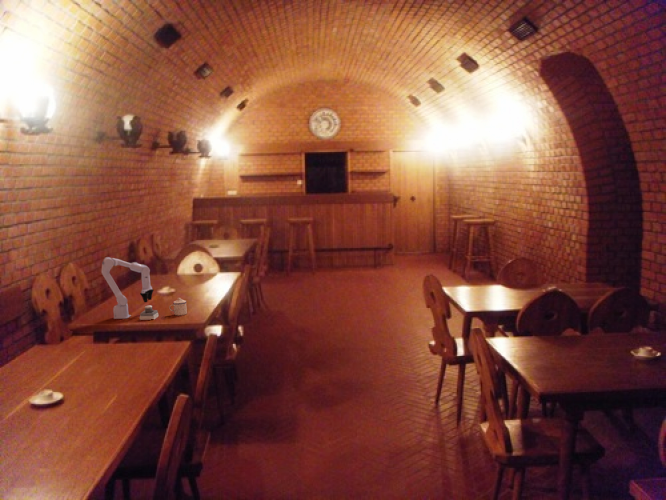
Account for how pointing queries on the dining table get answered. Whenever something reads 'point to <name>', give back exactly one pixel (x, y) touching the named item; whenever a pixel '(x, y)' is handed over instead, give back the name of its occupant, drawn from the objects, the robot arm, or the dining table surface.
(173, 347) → the dining table surface
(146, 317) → the grey square tray
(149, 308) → the gray domed cylinder
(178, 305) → the teacup with lid
